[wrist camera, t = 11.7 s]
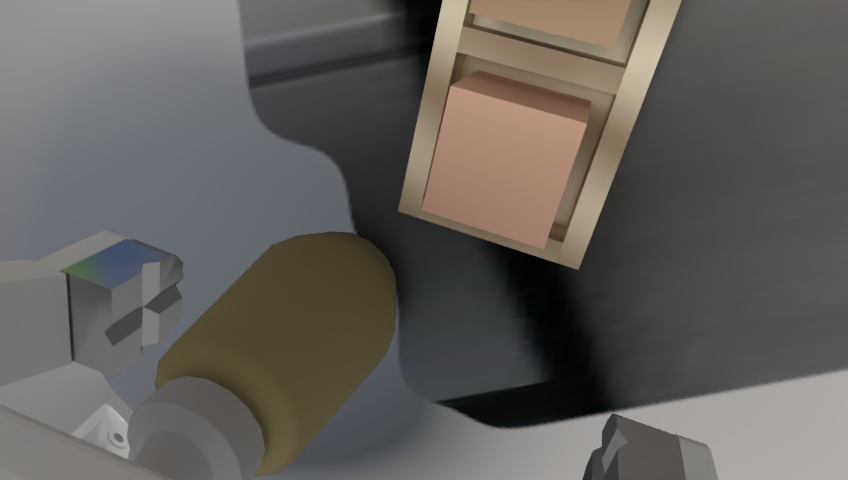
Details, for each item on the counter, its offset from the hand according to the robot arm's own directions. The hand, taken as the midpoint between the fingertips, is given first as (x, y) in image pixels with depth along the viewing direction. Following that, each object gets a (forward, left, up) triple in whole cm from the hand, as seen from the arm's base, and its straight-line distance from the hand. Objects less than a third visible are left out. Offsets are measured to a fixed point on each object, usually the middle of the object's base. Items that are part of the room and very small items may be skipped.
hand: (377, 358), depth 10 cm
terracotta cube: (0, 0, -18) cm, 18 cm away
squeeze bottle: (-10, +7, -19) cm, 23 cm away
